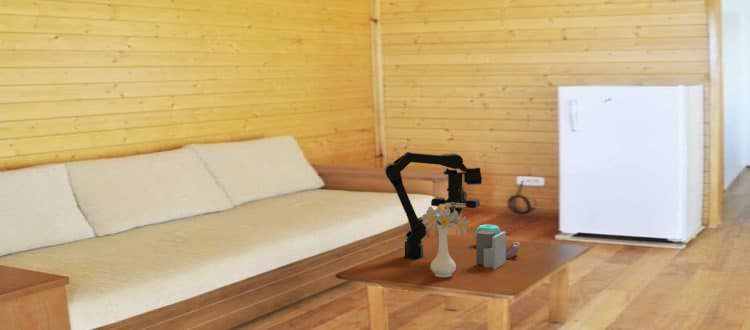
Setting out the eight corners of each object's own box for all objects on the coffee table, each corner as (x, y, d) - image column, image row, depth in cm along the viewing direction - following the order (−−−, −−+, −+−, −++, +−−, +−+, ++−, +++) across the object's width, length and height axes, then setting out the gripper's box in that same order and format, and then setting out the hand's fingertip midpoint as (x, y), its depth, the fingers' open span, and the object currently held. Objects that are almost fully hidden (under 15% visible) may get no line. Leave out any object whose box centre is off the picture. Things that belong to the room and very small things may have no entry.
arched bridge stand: (482, 267, 323) (482, 236, 322) (492, 261, 334) (492, 230, 333) (495, 268, 321) (495, 237, 320) (505, 262, 332) (505, 231, 330)
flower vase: (461, 282, 302) (460, 212, 299) (414, 276, 312) (413, 208, 309) (476, 274, 313) (475, 206, 311) (430, 269, 323) (430, 203, 320)
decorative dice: (475, 244, 365) (474, 226, 364) (487, 242, 370) (487, 223, 369) (489, 247, 359) (489, 228, 358) (501, 244, 364) (501, 226, 363)
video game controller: (514, 262, 337) (522, 247, 336) (503, 257, 338) (511, 242, 337) (514, 257, 347) (522, 242, 346) (504, 252, 347) (512, 237, 346)
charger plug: (476, 264, 328) (476, 233, 327) (480, 261, 333) (480, 230, 331) (495, 265, 325) (494, 234, 323) (499, 263, 329) (499, 232, 328)
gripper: (483, 183, 344) (483, 221, 346) (440, 181, 352) (440, 219, 354) (475, 187, 334) (475, 226, 336) (430, 185, 342) (430, 223, 344)
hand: (455, 223), depth 343 cm, fingers closed
